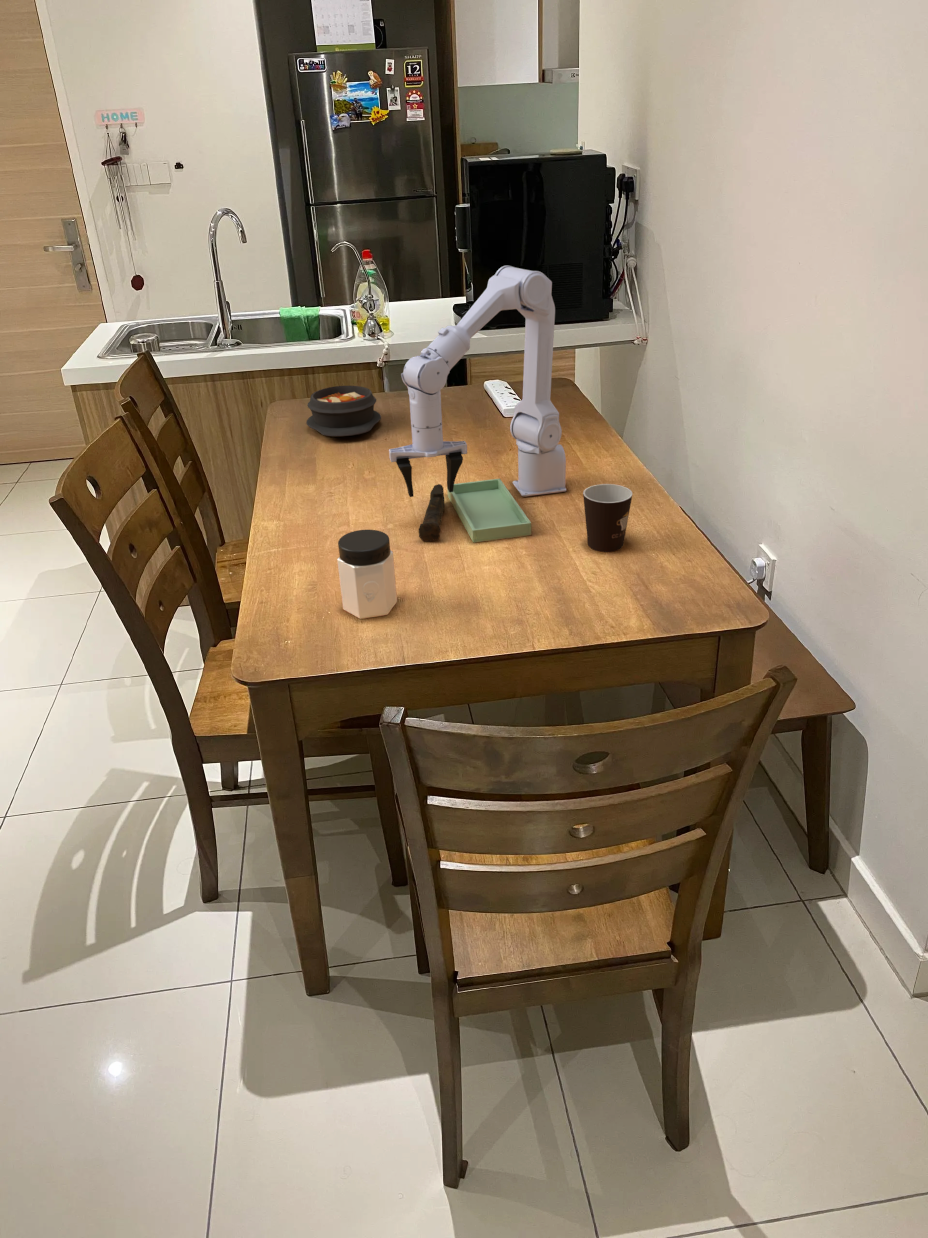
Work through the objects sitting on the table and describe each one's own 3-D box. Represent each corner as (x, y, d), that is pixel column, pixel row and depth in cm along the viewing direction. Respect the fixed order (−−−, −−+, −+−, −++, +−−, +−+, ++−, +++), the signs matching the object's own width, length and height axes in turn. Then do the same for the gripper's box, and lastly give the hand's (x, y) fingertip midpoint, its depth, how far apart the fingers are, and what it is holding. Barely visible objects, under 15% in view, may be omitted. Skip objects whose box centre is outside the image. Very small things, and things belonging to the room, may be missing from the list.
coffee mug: (599, 558, 165) (601, 506, 160) (572, 541, 171) (573, 490, 166) (652, 543, 169) (656, 492, 164) (624, 526, 176) (627, 477, 171)
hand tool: (440, 542, 173) (439, 519, 170) (418, 542, 173) (417, 519, 171) (454, 502, 189) (453, 481, 187) (434, 502, 189) (433, 480, 187)
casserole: (386, 439, 223) (384, 405, 219) (308, 447, 221) (304, 412, 217) (376, 408, 245) (374, 376, 240) (305, 415, 242) (301, 383, 238)
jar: (346, 622, 149) (338, 554, 143) (340, 598, 156) (332, 533, 150) (401, 614, 150) (395, 547, 144) (393, 590, 157) (387, 525, 151)
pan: (500, 489, 194) (500, 478, 193) (531, 535, 174) (531, 522, 173) (447, 495, 192) (447, 484, 191) (473, 542, 172) (472, 530, 171)
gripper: (390, 434, 167) (396, 504, 173) (469, 426, 169) (472, 495, 176) (385, 422, 173) (390, 491, 179) (461, 414, 175) (464, 482, 182)
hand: (430, 492), depth 178 cm, fingers open, 7 cm apart
